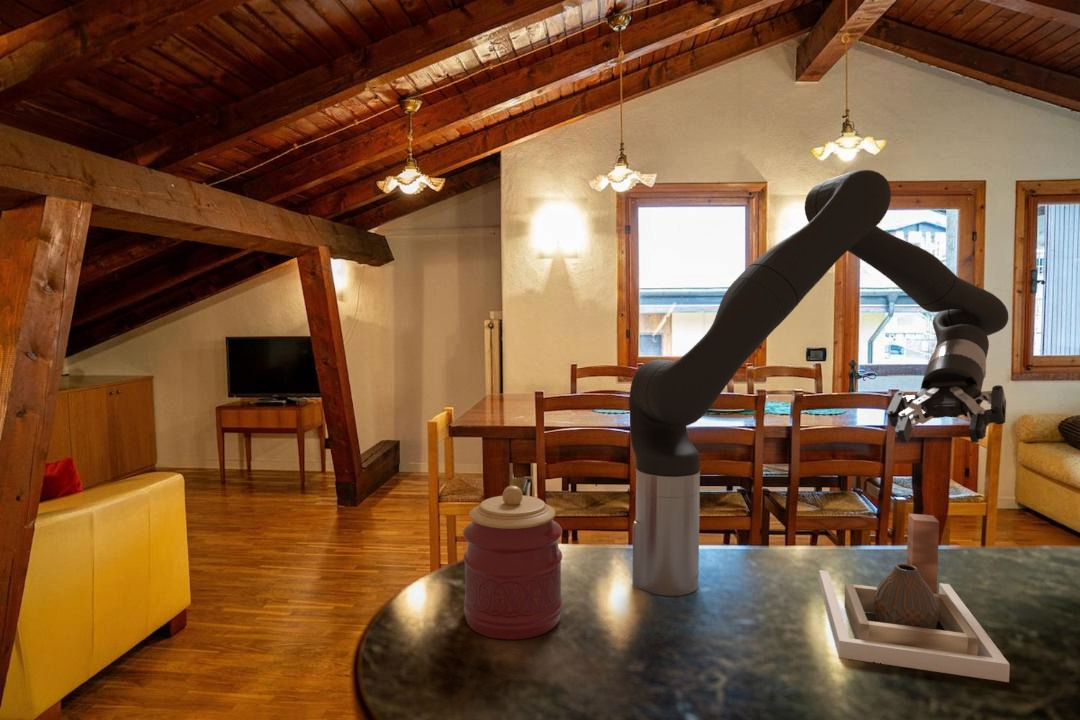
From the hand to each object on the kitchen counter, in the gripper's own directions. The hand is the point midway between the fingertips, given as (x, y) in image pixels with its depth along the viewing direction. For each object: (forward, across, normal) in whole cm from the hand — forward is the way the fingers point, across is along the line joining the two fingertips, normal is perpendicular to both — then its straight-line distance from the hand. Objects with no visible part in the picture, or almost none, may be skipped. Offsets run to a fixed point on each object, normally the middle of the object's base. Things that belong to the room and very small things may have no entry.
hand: (936, 438), depth 88 cm
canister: (+47, -41, -7) cm, 63 cm away
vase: (+23, -3, +13) cm, 27 cm away
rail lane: (+20, -4, +14) cm, 25 cm away
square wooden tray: (+21, -4, +14) cm, 25 cm away
